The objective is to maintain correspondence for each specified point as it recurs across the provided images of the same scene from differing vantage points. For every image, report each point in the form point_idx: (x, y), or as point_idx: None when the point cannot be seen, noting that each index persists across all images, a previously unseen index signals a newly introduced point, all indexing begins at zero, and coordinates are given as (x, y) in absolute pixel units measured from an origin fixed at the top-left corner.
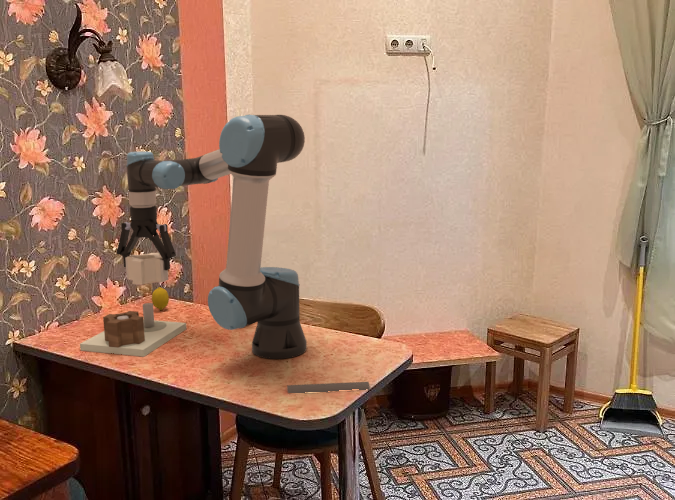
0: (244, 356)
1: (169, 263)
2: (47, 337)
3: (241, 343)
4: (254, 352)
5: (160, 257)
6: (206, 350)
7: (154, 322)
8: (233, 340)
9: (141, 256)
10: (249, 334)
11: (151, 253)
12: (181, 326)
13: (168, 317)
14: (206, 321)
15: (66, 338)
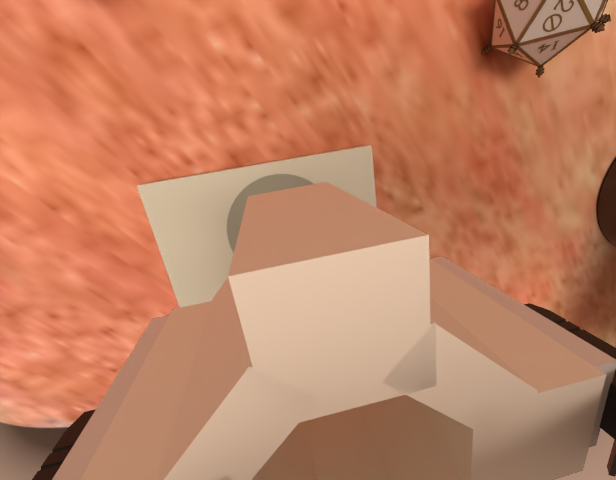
0: (587, 256)
1: (591, 342)
2: (34, 374)
3: (560, 186)
4: (613, 241)
5: (557, 421)
6: (495, 263)
7: (269, 189)
8: (534, 175)
9: (243, 474)
10: (562, 110)
11: (281, 325)
12: (373, 178)
13: (215, 47)
14: (382, 37)
15: (94, 356)
